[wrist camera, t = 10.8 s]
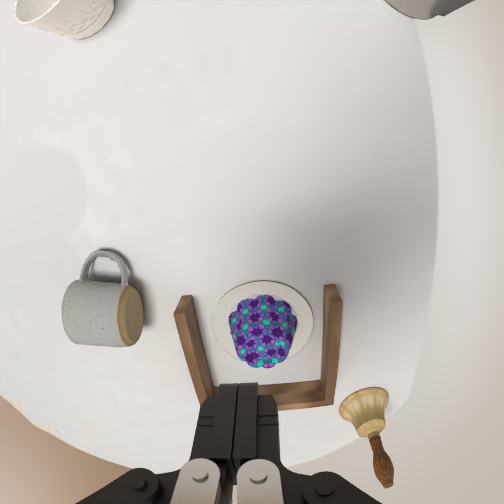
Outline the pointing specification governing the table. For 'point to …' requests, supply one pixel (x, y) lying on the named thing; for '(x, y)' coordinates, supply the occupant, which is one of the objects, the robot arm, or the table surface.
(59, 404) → the table surface
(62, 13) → the white cup
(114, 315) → the ceramic mug
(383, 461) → the hand bell
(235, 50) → the table surface
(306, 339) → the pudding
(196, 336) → the corral
